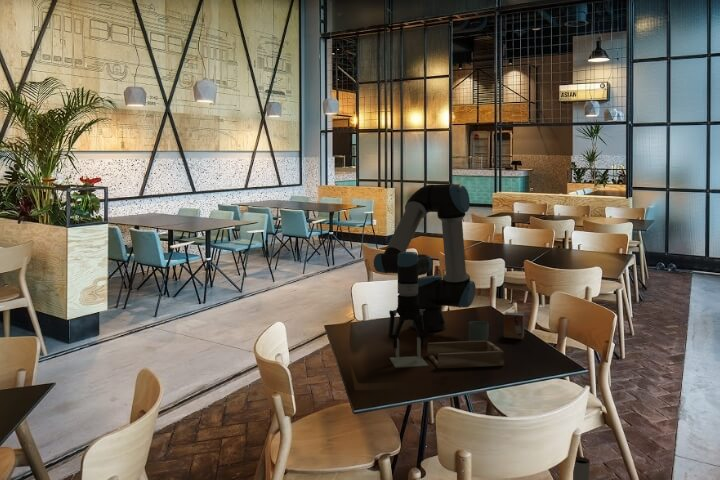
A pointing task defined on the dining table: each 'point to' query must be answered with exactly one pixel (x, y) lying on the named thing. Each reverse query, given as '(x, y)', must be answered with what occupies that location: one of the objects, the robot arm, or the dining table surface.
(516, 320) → the small box
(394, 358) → the sage tile
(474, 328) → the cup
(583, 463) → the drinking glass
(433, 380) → the dining table surface
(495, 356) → the wooden tray
